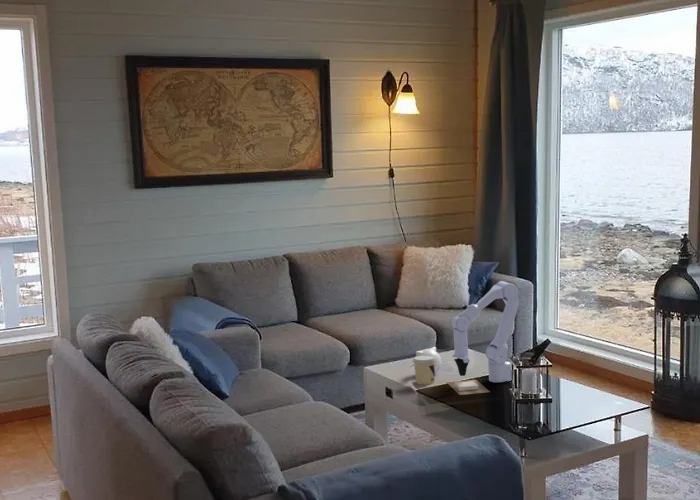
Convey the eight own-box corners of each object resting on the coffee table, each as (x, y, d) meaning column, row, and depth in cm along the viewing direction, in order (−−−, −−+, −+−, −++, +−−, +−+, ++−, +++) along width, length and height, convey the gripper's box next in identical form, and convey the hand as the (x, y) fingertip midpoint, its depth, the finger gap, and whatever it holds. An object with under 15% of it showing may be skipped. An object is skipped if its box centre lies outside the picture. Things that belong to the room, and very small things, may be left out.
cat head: (426, 381, 351) (424, 354, 350) (407, 376, 362) (405, 350, 361) (451, 374, 360) (449, 348, 359) (431, 369, 371) (430, 344, 369)
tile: (473, 381, 337) (478, 385, 330) (473, 385, 337) (478, 389, 330) (455, 382, 336) (459, 387, 329) (455, 386, 336) (459, 391, 329)
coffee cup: (435, 387, 341) (434, 359, 340) (414, 387, 343) (412, 360, 342) (437, 381, 350) (435, 354, 349) (416, 381, 352) (414, 355, 351)
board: (475, 382, 345) (475, 379, 345) (490, 394, 326) (490, 391, 326) (446, 385, 344) (446, 382, 344) (459, 397, 324) (459, 395, 324)
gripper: (447, 341, 343) (448, 372, 345) (456, 349, 329) (458, 380, 331) (462, 340, 344) (464, 370, 346) (473, 347, 330) (474, 379, 332)
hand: (462, 375), depth 338 cm, fingers closed
